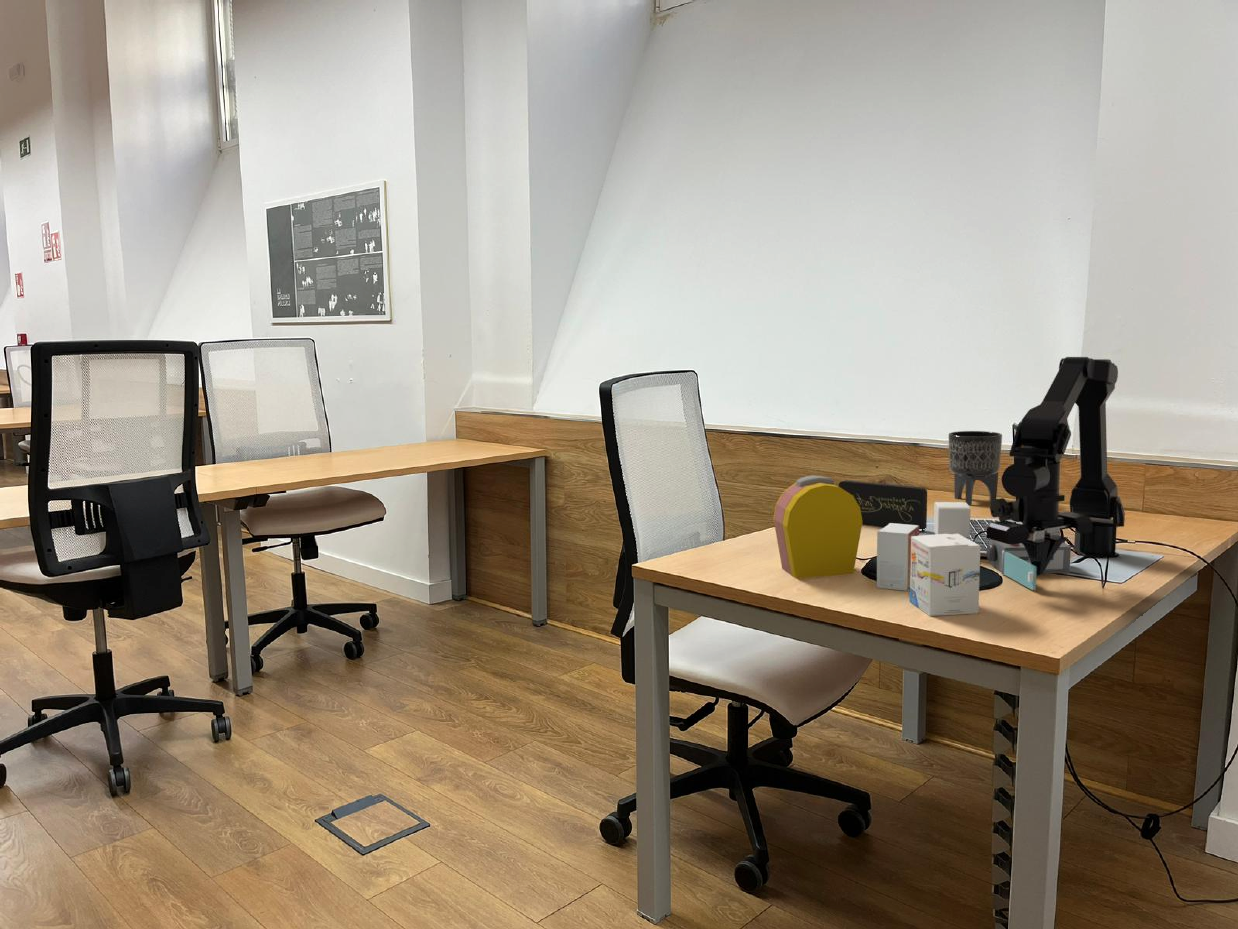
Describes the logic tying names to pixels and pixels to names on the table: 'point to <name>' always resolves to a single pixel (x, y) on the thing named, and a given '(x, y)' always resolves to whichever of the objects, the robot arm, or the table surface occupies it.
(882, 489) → the nameplate
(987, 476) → the planter
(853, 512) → the yellow arched block
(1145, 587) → the table surface
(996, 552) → the box
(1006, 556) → the side door
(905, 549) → the small box
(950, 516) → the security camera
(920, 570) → the ink box
